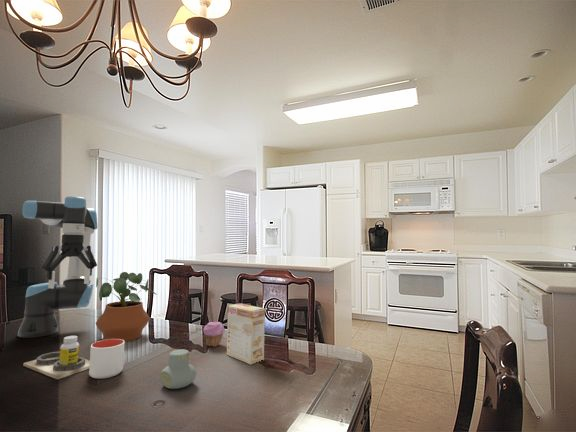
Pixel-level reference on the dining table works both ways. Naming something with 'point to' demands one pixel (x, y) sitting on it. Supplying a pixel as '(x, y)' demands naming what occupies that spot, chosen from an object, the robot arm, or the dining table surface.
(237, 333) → the coffeecake box
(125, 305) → the potted plant
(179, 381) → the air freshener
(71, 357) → the supplement bottle
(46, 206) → the robot arm
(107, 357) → the cup
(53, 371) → the caddy
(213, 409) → the dining table surface
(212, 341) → the cupcake
